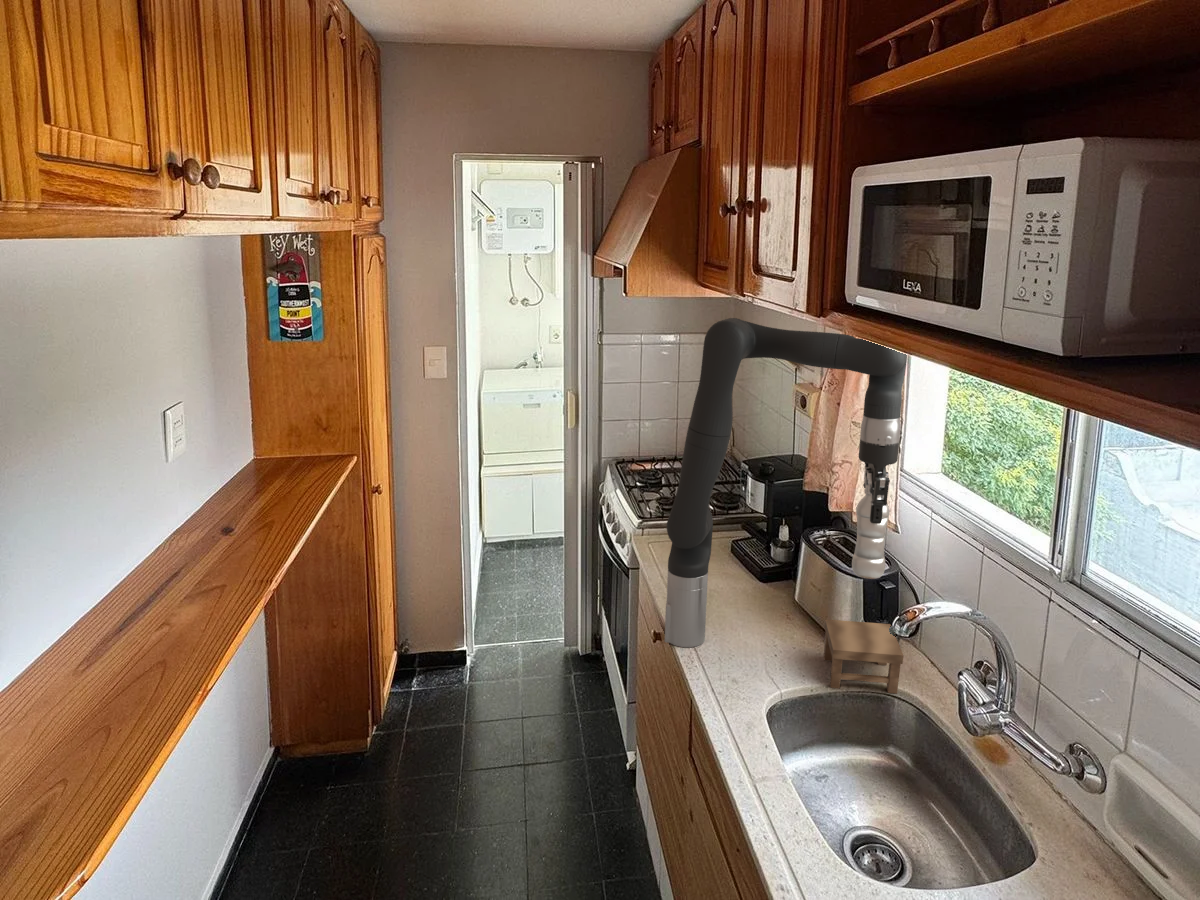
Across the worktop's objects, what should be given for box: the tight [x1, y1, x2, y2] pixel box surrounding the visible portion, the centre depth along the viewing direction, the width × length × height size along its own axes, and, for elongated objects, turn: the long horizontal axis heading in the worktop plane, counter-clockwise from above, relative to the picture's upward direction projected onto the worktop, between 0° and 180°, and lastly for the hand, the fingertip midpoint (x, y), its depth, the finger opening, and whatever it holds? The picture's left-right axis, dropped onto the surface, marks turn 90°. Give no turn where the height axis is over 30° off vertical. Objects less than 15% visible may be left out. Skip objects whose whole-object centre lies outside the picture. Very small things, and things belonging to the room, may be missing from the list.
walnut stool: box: [823, 618, 904, 694], centre depth 178 cm, size 14×14×9 cm
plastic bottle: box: [851, 483, 890, 580], centre depth 171 cm, size 6×7×20 cm
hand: (872, 516), depth 170 cm, fingers closed on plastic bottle, 6 cm apart
